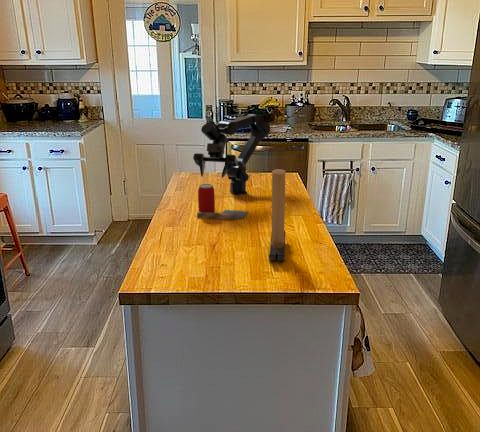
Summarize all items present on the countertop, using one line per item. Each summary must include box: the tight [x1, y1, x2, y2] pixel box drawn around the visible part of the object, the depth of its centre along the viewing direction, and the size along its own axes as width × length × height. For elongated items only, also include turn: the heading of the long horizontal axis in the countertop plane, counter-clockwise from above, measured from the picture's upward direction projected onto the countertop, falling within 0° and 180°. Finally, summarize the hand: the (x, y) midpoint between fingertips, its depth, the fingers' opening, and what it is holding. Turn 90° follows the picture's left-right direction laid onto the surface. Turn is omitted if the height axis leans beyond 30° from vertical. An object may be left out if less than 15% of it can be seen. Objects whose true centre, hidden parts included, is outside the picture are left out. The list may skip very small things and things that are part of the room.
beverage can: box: [197, 183, 216, 213], centre depth 198 cm, size 7×7×12 cm
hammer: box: [268, 168, 287, 262], centre depth 154 cm, size 20×5×30 cm, turn 174°
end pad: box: [222, 209, 249, 220], centre depth 198 cm, size 10×9×1 cm
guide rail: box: [196, 211, 237, 221], centre depth 193 cm, size 16×2×2 cm, turn 77°
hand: (211, 176), depth 203 cm, fingers open, 9 cm apart
